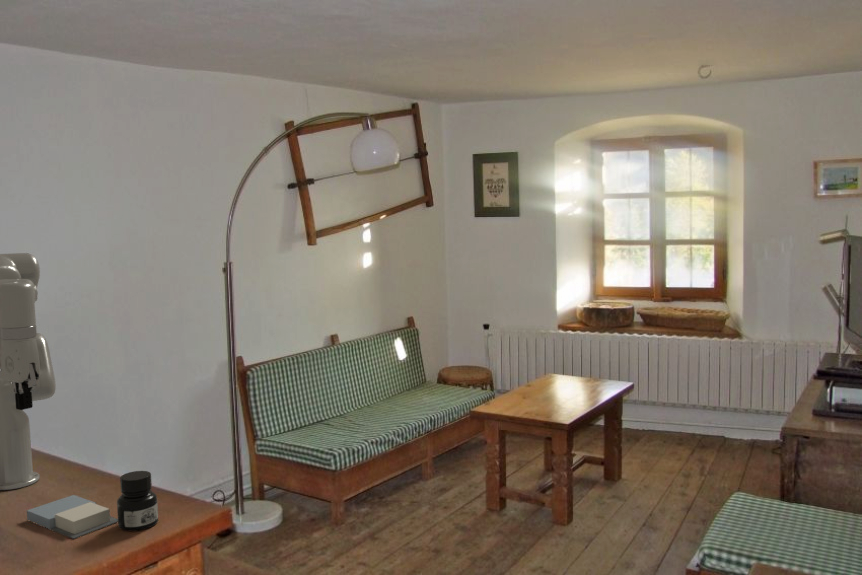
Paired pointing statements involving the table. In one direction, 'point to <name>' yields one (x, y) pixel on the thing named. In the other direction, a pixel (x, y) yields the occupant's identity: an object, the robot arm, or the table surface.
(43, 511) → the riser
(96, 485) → the table surface
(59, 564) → the table surface
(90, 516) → the tile
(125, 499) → the ink bottle
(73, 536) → the mat
